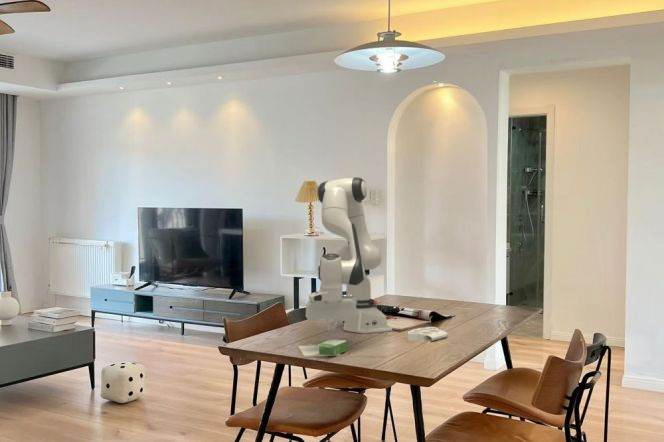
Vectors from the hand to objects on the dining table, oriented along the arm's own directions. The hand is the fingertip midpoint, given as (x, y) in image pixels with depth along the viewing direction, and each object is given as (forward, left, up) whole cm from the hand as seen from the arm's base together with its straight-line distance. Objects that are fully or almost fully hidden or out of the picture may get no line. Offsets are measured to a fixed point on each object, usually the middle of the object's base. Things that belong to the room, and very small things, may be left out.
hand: (331, 329), depth 259 cm
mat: (+5, 0, -8) cm, 10 cm away
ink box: (-3, +1, -6) cm, 7 cm away
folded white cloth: (-45, -16, -9) cm, 49 cm away
